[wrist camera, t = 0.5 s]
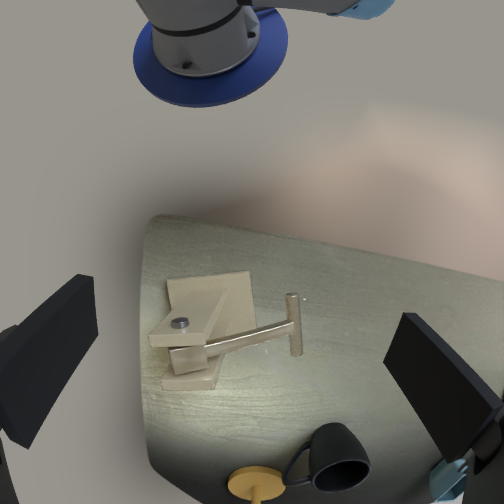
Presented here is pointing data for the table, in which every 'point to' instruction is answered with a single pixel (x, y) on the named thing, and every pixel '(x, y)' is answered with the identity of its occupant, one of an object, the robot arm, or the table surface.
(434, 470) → the flower pot
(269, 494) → the lamp
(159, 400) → the table surface
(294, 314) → the switch
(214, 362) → the beige wooden upright stand
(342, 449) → the mug
